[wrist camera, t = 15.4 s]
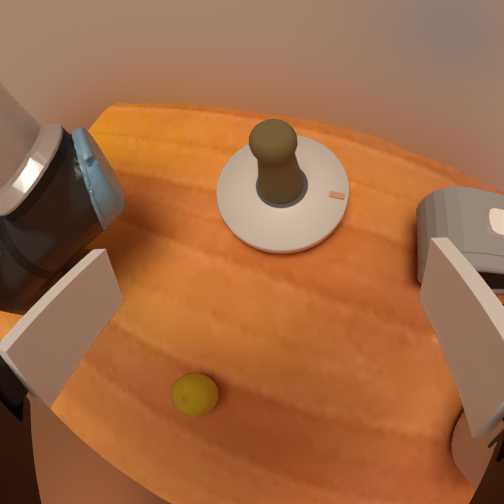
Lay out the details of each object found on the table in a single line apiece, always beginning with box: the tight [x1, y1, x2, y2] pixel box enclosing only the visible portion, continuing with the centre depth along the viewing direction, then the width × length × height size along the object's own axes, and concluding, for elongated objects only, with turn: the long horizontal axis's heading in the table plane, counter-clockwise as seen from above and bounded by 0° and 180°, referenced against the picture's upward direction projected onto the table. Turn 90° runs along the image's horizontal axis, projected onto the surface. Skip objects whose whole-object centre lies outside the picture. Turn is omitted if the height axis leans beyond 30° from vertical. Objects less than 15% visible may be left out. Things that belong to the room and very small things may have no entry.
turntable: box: [217, 135, 349, 254], centre depth 39 cm, size 18×18×2 cm
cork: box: [249, 119, 304, 204], centre depth 33 cm, size 6×6×11 cm
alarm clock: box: [416, 186, 504, 294], centre depth 28 cm, size 21×10×13 cm, turn 82°
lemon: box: [171, 373, 219, 416], centre depth 32 cm, size 6×6×8 cm
